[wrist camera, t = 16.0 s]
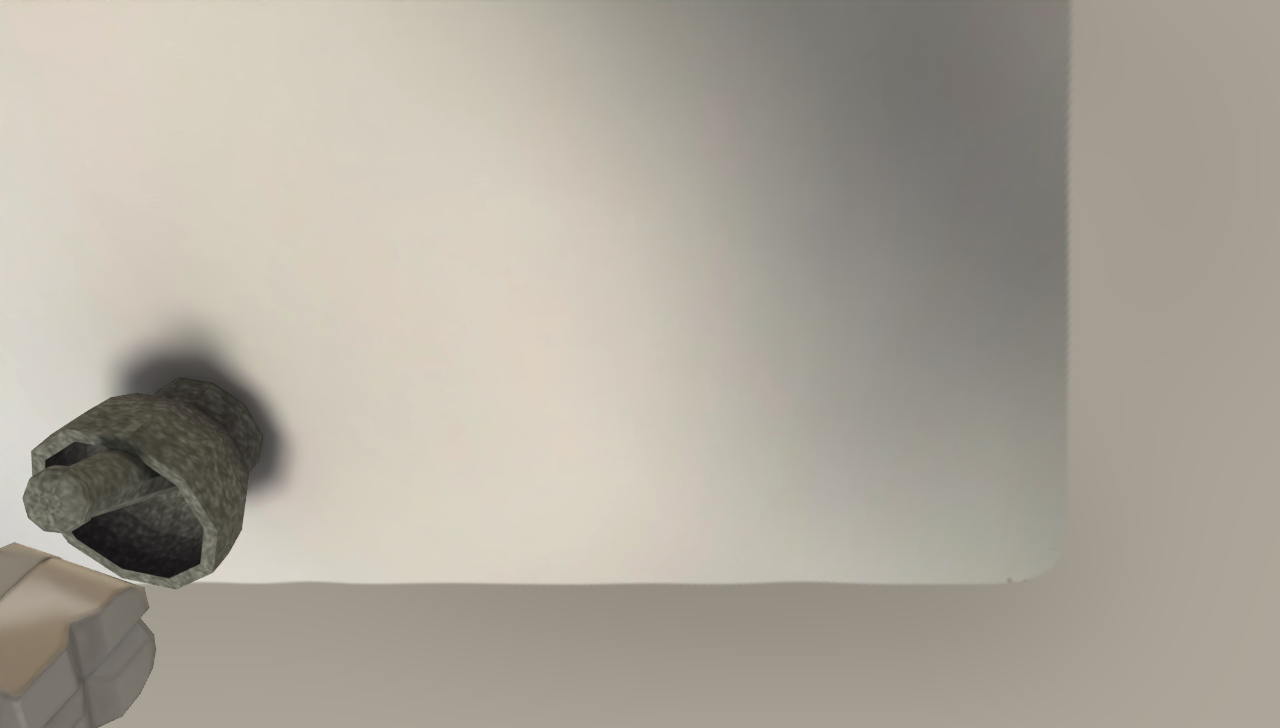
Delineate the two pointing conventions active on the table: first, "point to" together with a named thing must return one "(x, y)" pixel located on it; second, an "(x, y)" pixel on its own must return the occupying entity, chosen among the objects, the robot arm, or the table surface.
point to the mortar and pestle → (149, 481)
